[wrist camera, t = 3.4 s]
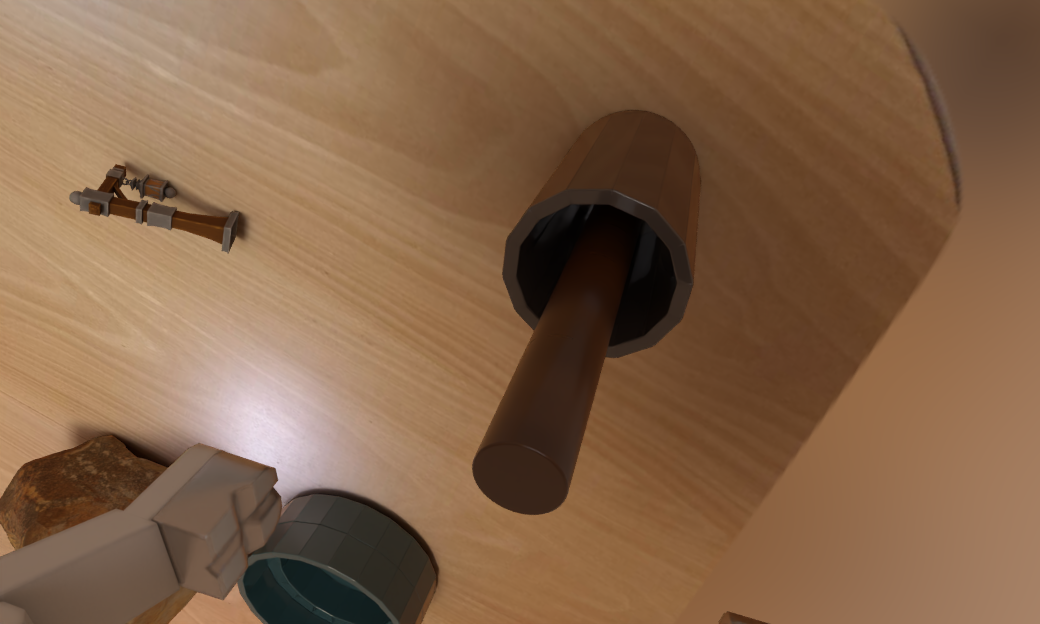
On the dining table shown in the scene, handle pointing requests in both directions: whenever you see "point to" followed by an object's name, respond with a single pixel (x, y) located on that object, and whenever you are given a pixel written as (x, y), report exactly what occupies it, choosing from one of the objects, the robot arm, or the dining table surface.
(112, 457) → the orange rock
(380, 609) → the bowl
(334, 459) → the dining table surface
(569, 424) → the stick
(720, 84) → the dining table surface
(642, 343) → the holder
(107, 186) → the wooden lamp post
